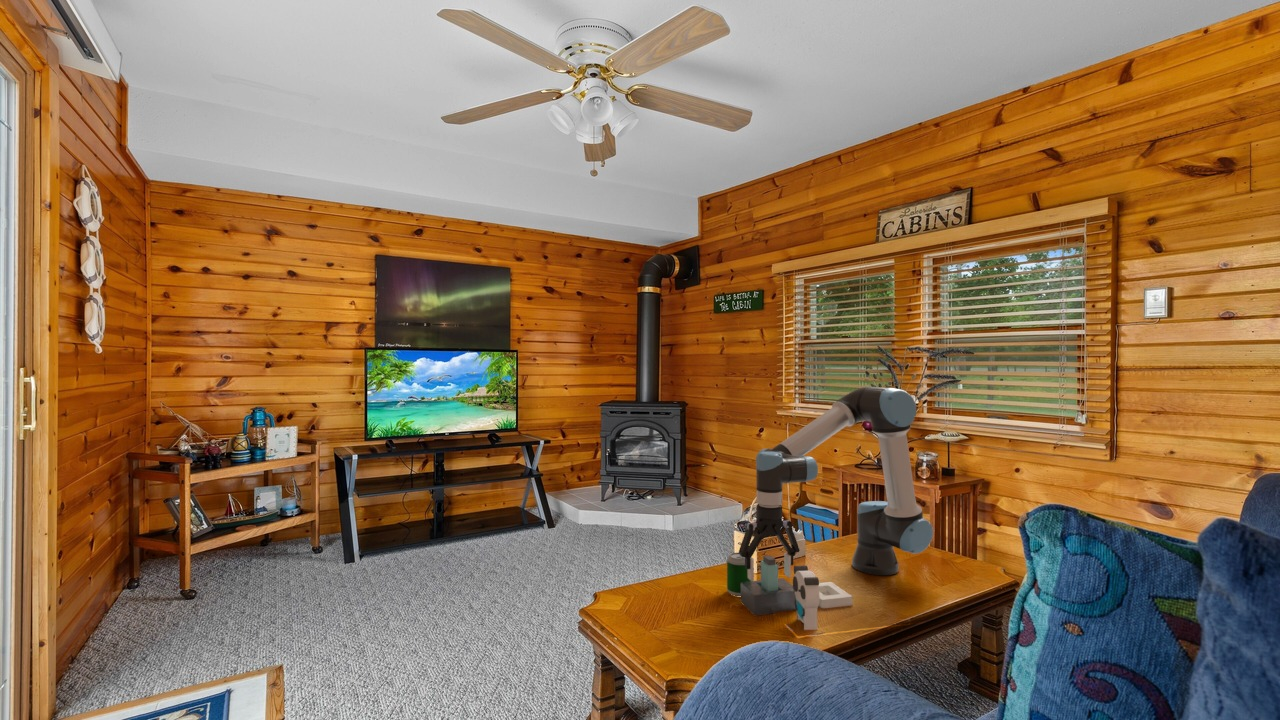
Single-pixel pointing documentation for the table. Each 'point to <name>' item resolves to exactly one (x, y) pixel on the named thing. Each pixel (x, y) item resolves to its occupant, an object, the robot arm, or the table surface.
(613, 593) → the table surface
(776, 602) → the block
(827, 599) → the white flat block
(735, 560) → the soda can
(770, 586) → the plug
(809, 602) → the panda figurine
